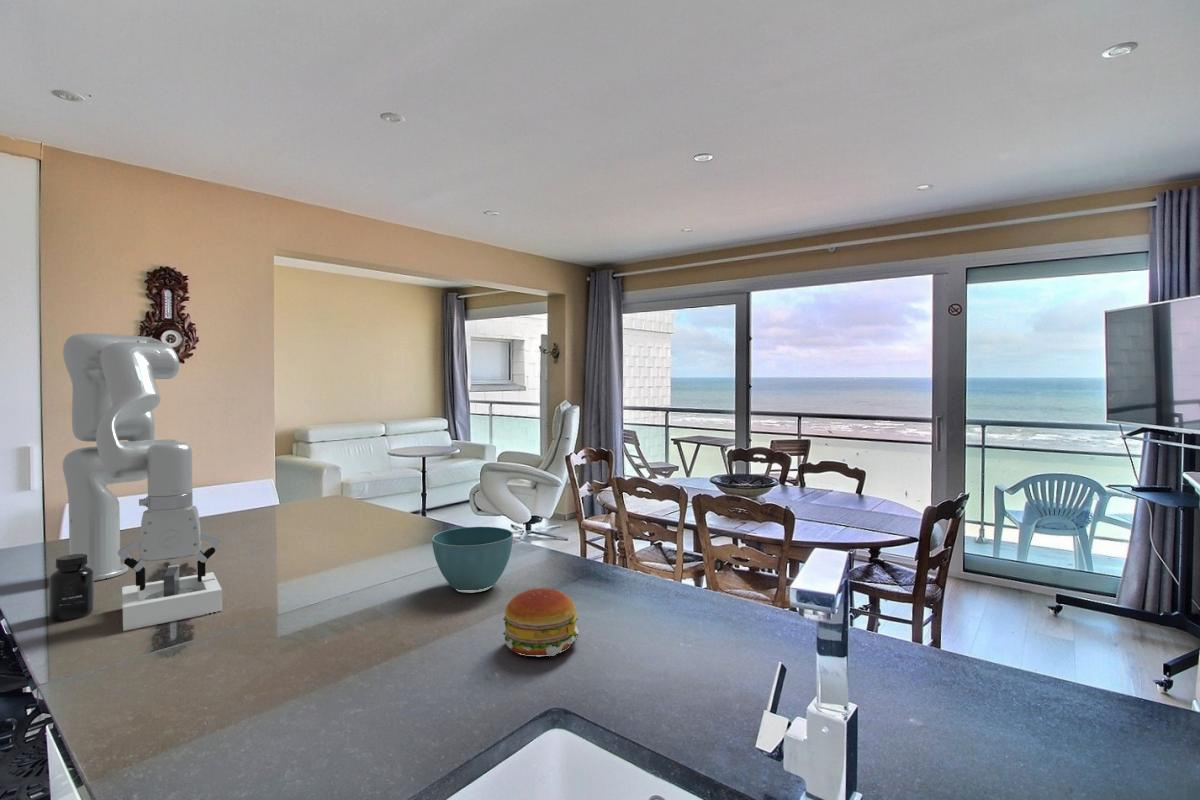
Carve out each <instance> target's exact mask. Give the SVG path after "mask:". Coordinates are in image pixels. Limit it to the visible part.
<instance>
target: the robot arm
mask: <svg viewBox="0 0 1200 800" xmlns="http://www.w3.org/2000/svg"><path fill="white" fill-rule="evenodd" d="M62 352H63V353H62V356H63V360H64V361H63V362H64V364H65V368H66V370H67V372H68V375H69V378H70V381H71V386H72V398H71V400H72V401H71V405H72V407H71V428H72V432H73V435H74V437H75V438H76V439H77V440H78V441H82V442H87V443H89V442H93V443H94V442H96V443H95V444H96V446H87V447H80V448H78V449H77V448H76V449H74V450H72V451H70V452H68V453H67V454H66V455H65V456H64V458H63V461H62V470H63V471H62V472H63V475H64V477H63V478H64V479H65V485H66V490H67V499H68V500H67V501H68V535H69V536H68V537H69V538H68V541H69V544H68V545H69V547H68V548H69V555H72V554H87V561H88V564H87V565H86V566H87V567H90V568H91V569H92V570H93V572H94V582H96V581H100V580H101V581H102V580H107V579H110V578H114V577H118V576H120V575H122V574H125V573H126V572H128V571H129V568H131V569H132V570H133V571H134V572H135V585H136V586H140V591H143V590H144V589H145V583H146V568H145V565H146V564H147V563H148V562H159V561H167V560H173V559H180V558H188V557H192V556H193V557H194V558H196V559H197V561H196V562H197V563H196V564H197V567H196V568H197V569H196V570H197V571H196V572H197V575H198V581H199V582H202V577H203V576H206V573H207V572H206V562H207V561H208V559H210V557H212V556H213V554H215V553H216V550H217V549H218V547H219V545H220V543H221V542H222V540H221V538H220V537H218V536H214V535H211V534H209V533H206V532H202V531H201V523H200V515H199V511H198V508H197V506H196V505H193V502H194V501H193V451H192V446H191V445H190V444H189V443H187V442H181V441H178V440H176V439H168V438H167V439H155V417H154V413H153V411H154V409H155V408H157V407H158V406H159V405H160V402H161V395H160V392H159V389H158V386H157V384H156V380H170V379H173V378H175V377H176V376H177V374H178V373H179V370H180V359H179V357H178V355H177V352H176V351H175V349H174V348H173V347H172V346H171V345H169V344H168V343H166V342H164V341H161V340H159V339H156V338H154V337H150V336H139V335H127V334H126V335H125V334H124V335H123V334H115V333H114V334H113V333H94V332H93V333H92V332H91V333H86V332H85V333H77V334H72V335H70V336H69V337H67V338H66V340H65V341H64V344H63V351H62ZM146 479H147V496H146V497H144V498H141V499H140V498H139V499H138V506H139V507H145V508H147V510H144V511H143V512H142V518H141V523H140V533H139V539H137V540H135V541H133V542H132V543H129V544H127V545H126V546H124V547H122V548H121V525H120V524H121V523H120V522H121V518H120V516H121V513H120V501H119V498H118V497H117V496H116V495H115V494H114V493H113V492H112V491H110V489H109V488H108V487H107V486H108V485H113V484H121V483H132V482H137V481H138V482H140V481H143V480H146ZM202 541H205V542H208V543H210V546H209V548H207V549H206V550H205V551H202V550H201V547H202V546H201V545H202ZM138 548H139V557H140V559H138V560H136V559H134V558H133V557H132V556H131V555H130V554H129V553H130V552H133V551H134V550H137V549H138ZM121 560H122V561H123V563H122V562H121ZM106 578H107V579H106Z"/></svg>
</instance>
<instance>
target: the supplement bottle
mask: <svg viewBox="0 0 1200 800" xmlns="http://www.w3.org/2000/svg"><path fill="white" fill-rule="evenodd" d="M87 564H88V561H87V554H72V555H70V554H67V555H62V556H59V557H56V558H55V565H54V566H55V569H56V570H55V571H54V572H52V573H51V574H50V576H49V577H48V618H49V619H50V621H54V622H64V621H63V620H66V621H72V620H71V619H73V620H77V619H80V618H79V617H81V618H83V616H84V617H87V616H88V614H89V615H91V614H92V613H93V611H94V603H95V602H94V601H95V600H94V596H95V595H94V592H95V591H94V590H95V589H94V588H95V587H94V584H95V583H94V582H95V581H94V572H93V570H92V569H91V568H90V567H87V566H86V565H87ZM86 615H87V616H86ZM76 618H77V619H76Z"/></svg>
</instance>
